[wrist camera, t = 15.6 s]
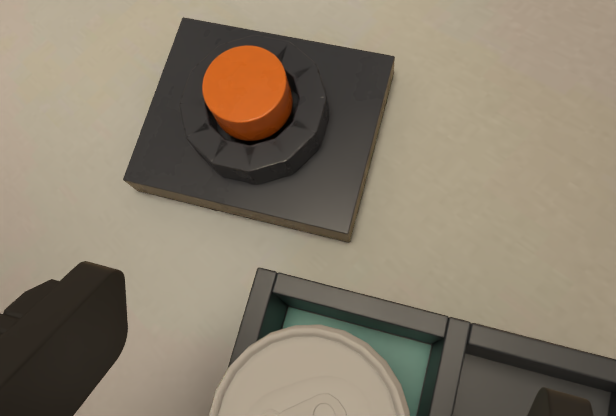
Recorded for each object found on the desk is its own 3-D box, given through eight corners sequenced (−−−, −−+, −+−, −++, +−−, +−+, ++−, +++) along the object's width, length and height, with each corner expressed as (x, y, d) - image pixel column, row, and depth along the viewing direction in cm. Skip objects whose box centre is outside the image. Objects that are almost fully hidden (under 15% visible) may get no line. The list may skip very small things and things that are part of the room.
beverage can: (263, 373, 25) (172, 371, 14) (365, 327, 25) (357, 287, 14) (308, 485, 24) (246, 588, 12) (415, 436, 24) (452, 493, 12)
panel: (136, 190, 29) (105, 166, 26) (192, 35, 31) (170, -6, 28) (349, 242, 27) (346, 224, 24) (393, 73, 29) (396, 34, 26)
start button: (204, 132, 26) (190, 112, 24) (227, 62, 27) (216, 37, 25) (280, 149, 26) (272, 130, 24) (302, 76, 26) (296, 53, 24)
